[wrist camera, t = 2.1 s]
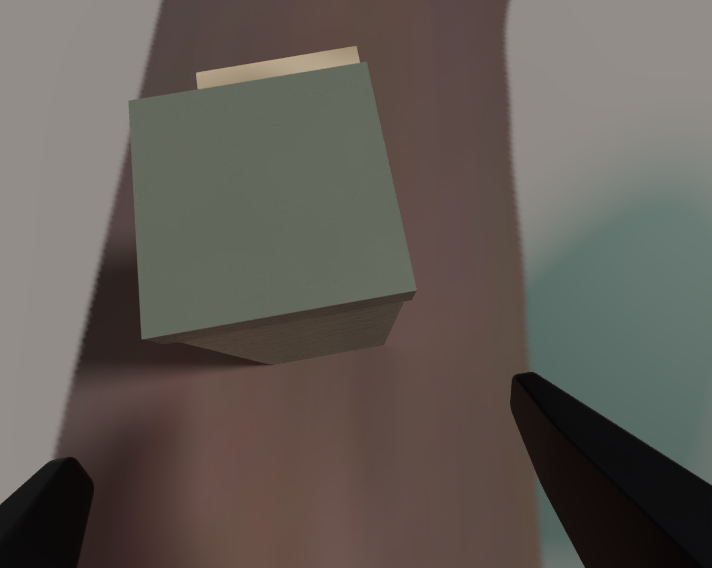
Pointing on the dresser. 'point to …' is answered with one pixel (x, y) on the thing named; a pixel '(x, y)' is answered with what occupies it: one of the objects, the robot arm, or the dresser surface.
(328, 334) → the green lidded box
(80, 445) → the dresser surface
